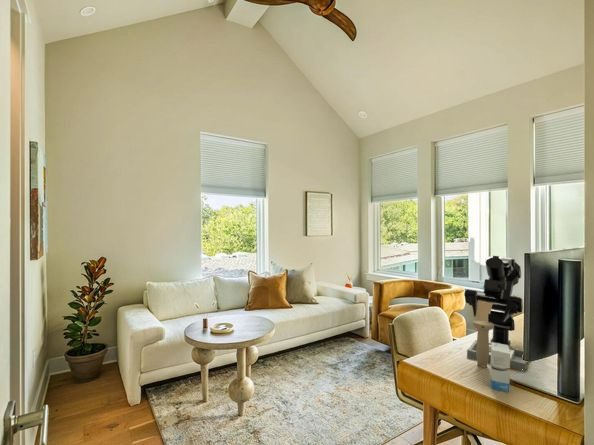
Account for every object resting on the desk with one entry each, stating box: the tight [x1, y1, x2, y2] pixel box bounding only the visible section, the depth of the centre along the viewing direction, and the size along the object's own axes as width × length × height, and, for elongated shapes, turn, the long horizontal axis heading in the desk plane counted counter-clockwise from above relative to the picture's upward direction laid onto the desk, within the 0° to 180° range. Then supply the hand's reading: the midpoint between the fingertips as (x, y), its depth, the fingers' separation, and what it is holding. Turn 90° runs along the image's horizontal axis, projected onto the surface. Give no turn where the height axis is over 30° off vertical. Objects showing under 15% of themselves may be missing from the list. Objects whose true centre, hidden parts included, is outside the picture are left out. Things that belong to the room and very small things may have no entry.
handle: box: [472, 320, 494, 368], centre depth 118 cm, size 5×6×15 cm
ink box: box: [489, 342, 511, 393], centre depth 104 cm, size 8×5×12 cm, turn 151°
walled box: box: [466, 339, 529, 371], centre depth 125 cm, size 14×18×2 cm
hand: (488, 318), depth 122 cm, fingers open, 9 cm apart
